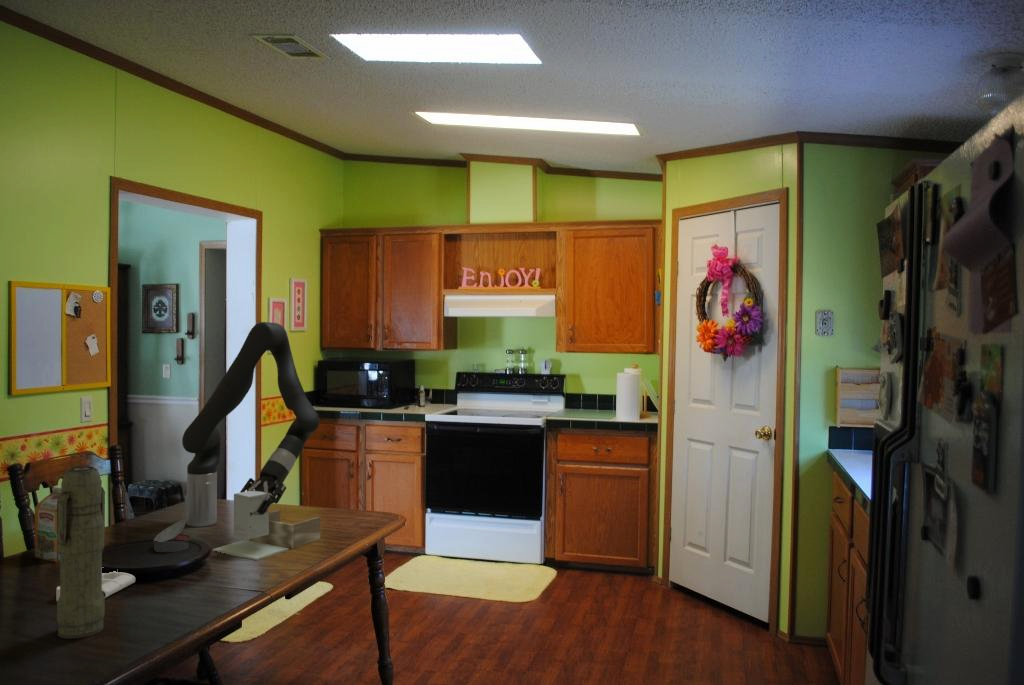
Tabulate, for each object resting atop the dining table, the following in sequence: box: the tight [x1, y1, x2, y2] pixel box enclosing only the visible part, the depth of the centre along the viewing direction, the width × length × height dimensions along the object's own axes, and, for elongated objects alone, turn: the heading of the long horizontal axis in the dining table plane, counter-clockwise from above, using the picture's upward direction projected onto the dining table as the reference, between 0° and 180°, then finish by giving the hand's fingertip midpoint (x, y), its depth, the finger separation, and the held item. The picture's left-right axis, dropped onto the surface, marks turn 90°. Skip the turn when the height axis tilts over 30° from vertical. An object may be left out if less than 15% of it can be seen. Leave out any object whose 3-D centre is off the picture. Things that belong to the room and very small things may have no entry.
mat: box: [212, 539, 289, 561], centre depth 226 cm, size 18×12×1 cm, turn 62°
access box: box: [249, 509, 321, 550], centre depth 237 cm, size 18×12×7 cm, turn 62°
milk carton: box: [34, 486, 61, 563], centre depth 219 cm, size 11×11×19 cm
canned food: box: [153, 518, 191, 542], centre depth 227 cm, size 11×10×10 cm
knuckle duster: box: [55, 571, 136, 602], centre depth 190 cm, size 3×18×15 cm
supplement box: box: [233, 489, 270, 540], centre depth 225 cm, size 7×7×13 cm
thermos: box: [56, 465, 106, 640], centre depth 164 cm, size 9×12×35 cm
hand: (249, 511), depth 225 cm, fingers closed on supplement box, 8 cm apart
